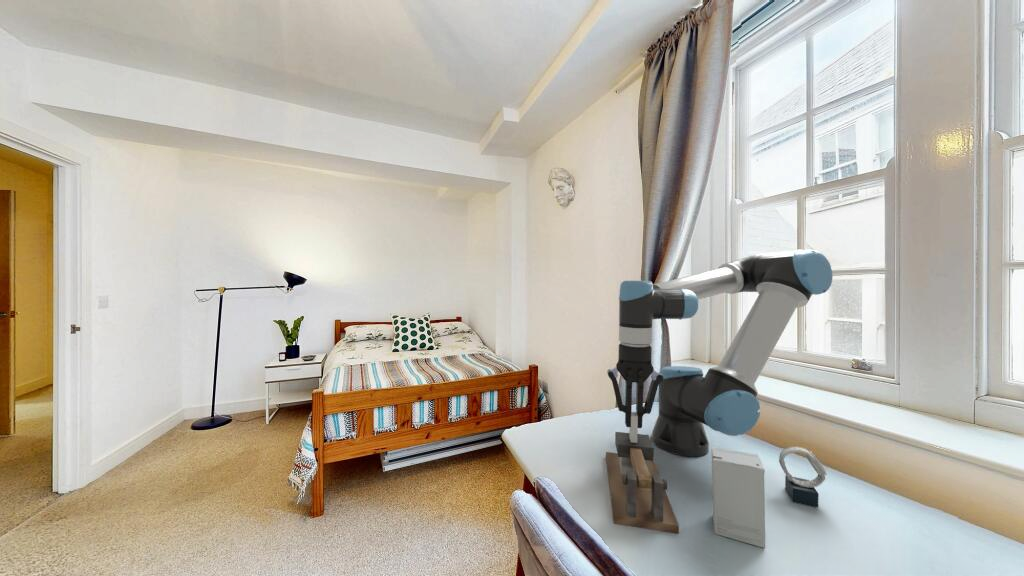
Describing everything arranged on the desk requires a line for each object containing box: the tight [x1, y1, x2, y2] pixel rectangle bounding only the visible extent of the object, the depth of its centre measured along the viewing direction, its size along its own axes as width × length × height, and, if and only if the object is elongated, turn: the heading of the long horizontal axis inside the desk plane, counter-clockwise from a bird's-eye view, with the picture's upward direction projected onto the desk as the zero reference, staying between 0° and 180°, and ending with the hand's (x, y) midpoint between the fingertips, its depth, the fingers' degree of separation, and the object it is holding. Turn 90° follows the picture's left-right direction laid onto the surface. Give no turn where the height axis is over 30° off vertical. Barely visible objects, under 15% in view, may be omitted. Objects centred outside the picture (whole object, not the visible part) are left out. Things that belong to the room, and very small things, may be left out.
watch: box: [778, 446, 828, 508], centre depth 75 cm, size 6×8×11 cm
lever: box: [614, 431, 655, 491], centre depth 76 cm, size 8×20×3 cm, turn 167°
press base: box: [605, 451, 680, 534], centre depth 78 cm, size 12×26×9 cm, turn 167°
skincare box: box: [711, 446, 766, 549], centre depth 64 cm, size 8×6×15 cm
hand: (633, 440), depth 81 cm, fingers closed
